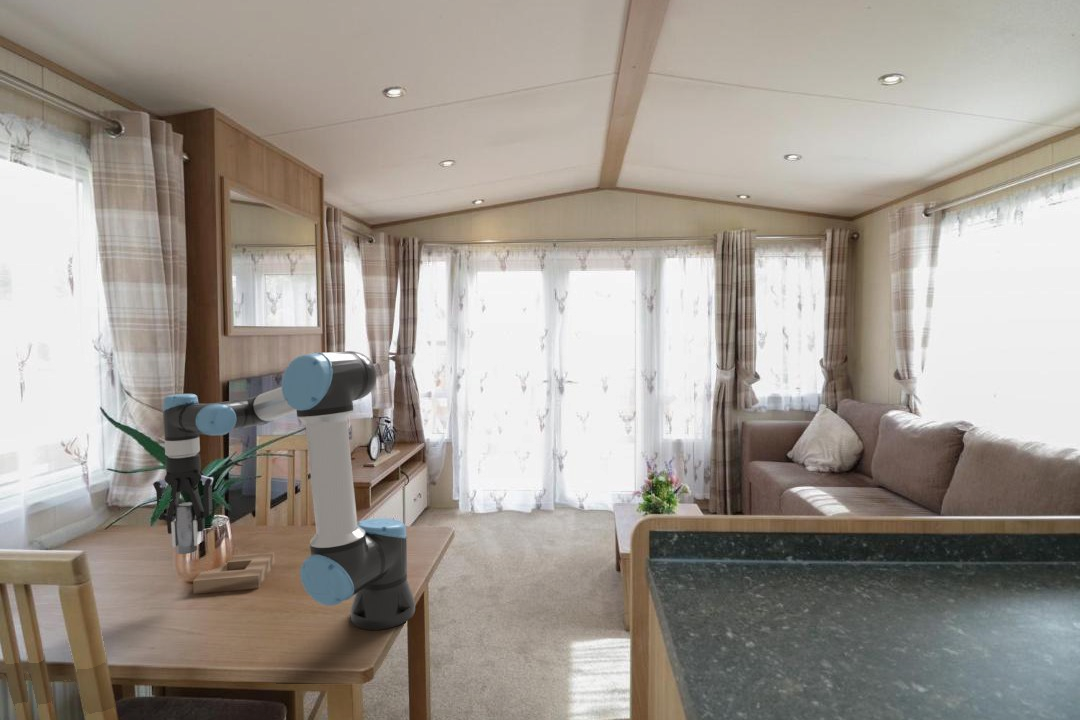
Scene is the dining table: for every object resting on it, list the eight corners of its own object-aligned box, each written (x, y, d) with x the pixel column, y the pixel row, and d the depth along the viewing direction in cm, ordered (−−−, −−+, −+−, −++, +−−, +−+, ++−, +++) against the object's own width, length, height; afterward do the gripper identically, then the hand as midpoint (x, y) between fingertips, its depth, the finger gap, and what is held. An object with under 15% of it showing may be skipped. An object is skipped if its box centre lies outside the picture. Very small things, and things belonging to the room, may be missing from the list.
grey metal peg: (193, 553, 144) (191, 506, 143) (174, 554, 143) (172, 508, 142) (200, 546, 148) (198, 501, 147) (181, 548, 147) (179, 502, 146)
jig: (258, 588, 152) (258, 575, 152) (193, 593, 149) (193, 580, 149) (274, 563, 168) (274, 552, 168) (215, 568, 165) (215, 556, 164)
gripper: (225, 449, 149) (228, 536, 151) (151, 453, 146) (156, 541, 147) (214, 456, 142) (218, 547, 143) (137, 459, 139) (142, 553, 140)
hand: (187, 544), depth 145 cm, fingers closed on grey metal peg, 4 cm apart
